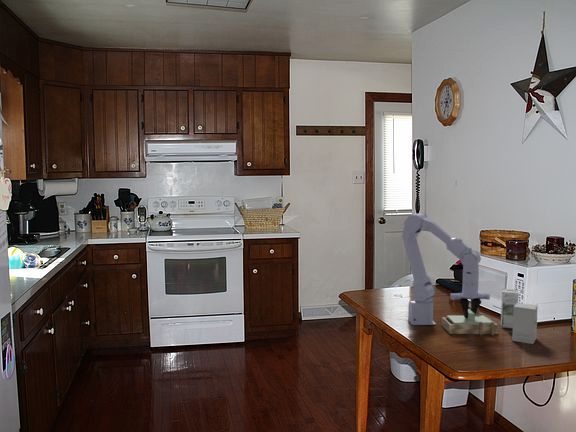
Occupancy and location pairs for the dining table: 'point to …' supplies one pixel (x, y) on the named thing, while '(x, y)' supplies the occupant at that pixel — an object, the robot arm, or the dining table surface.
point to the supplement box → (524, 323)
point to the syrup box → (508, 307)
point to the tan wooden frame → (469, 327)
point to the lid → (469, 319)
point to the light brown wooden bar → (470, 308)
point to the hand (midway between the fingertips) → (469, 317)
